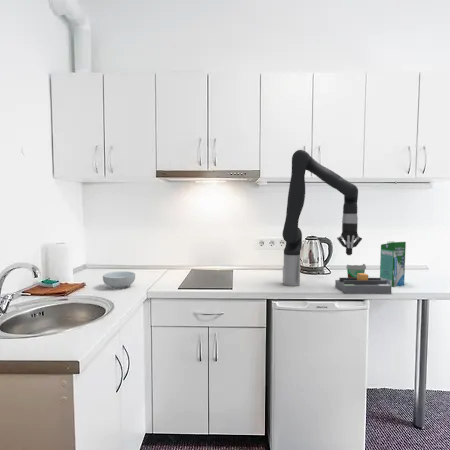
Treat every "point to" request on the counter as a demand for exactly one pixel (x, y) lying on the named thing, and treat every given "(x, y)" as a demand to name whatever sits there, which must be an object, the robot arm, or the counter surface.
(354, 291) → the switch plate
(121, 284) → the cereal bowl
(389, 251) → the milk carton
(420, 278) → the counter surface
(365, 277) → the switch knob
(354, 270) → the food container
